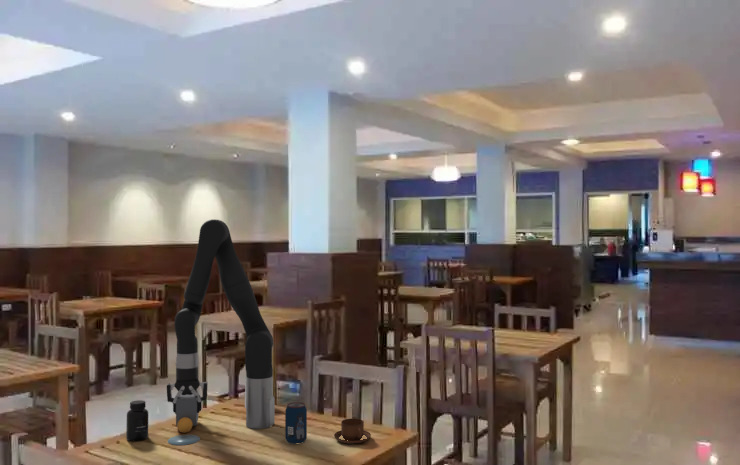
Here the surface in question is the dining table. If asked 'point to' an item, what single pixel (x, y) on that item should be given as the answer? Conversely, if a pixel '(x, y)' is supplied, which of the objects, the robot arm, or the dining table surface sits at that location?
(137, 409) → the supplement bottle
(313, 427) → the dining table surface
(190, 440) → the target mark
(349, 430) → the rectangular block and saucer
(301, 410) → the soda can
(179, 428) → the ball
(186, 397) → the rectangular block
